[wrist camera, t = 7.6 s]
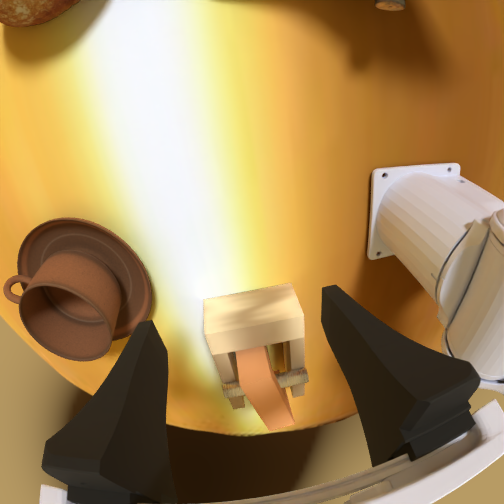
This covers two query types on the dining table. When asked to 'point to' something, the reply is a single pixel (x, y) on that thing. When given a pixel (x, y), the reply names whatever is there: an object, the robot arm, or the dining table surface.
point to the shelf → (256, 334)
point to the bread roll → (31, 11)
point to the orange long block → (263, 387)
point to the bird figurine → (390, 4)
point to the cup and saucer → (79, 288)
